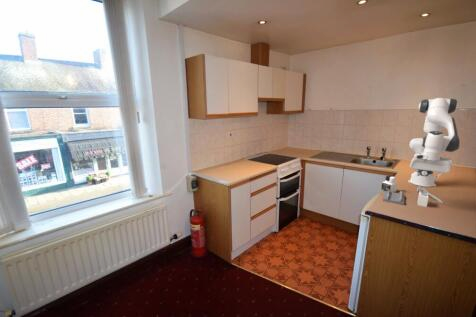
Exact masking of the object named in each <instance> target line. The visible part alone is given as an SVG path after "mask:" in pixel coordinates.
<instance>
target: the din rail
mask: <svg viewBox="0 0 476 317" xmlns="http://www.w3.org/2000/svg"><path fill="white" fill-rule="evenodd" d="M389 191H390V189H388V192H387V197H386V199H387V200H388V196H389ZM399 194H400V198H399V202H401V199H402V194H403V191H402V190H400V191H399Z"/></svg>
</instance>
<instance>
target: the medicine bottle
mask: <svg viewBox="0 0 476 317" xmlns="http://www.w3.org/2000/svg"><path fill="white" fill-rule="evenodd" d="M397 186H398V183H396V177H395V176H393V175H386V176H385V181H382V182H381V188H380V190H381V191H383V192H385V191H388V189H390V191H389V192H393V193H397Z"/></svg>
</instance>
